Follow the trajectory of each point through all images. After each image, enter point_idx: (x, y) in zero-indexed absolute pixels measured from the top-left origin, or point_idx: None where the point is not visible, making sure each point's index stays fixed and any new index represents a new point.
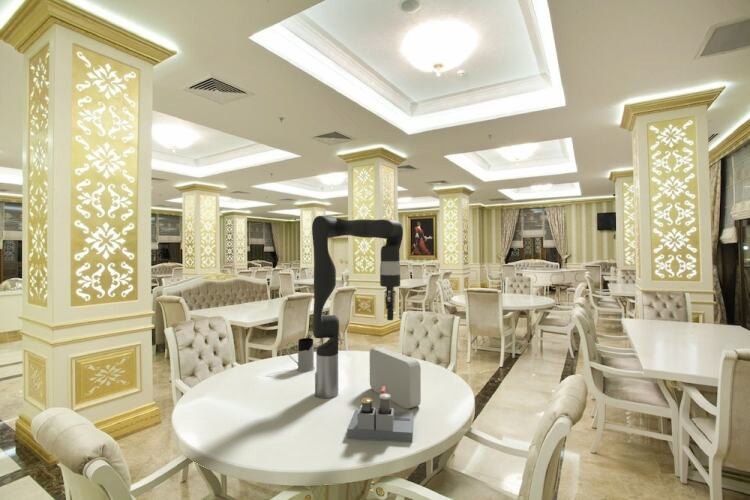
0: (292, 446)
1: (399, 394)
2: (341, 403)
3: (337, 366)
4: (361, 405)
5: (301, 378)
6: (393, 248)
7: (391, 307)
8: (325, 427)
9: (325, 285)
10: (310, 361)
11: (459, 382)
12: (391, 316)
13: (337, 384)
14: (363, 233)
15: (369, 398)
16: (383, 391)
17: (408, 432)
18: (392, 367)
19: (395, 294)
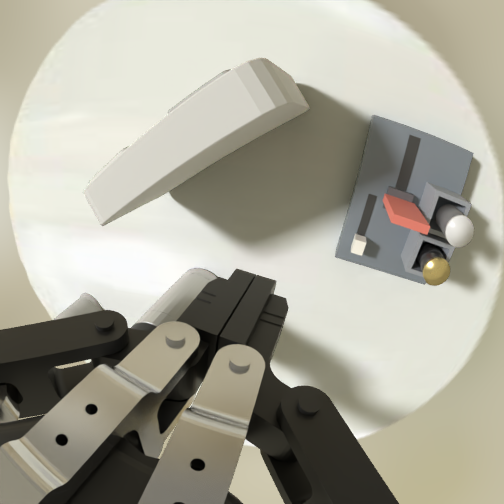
0: (414, 354)
1: (265, 130)
2: (253, 267)
3: (176, 307)
4: (353, 252)
5: (132, 321)
6: None
7: (323, 427)
8: (365, 308)
9: None
10: (85, 310)
11: None
12: (283, 319)
13: (198, 283)
14: None
15: (430, 264)
16: (429, 228)
17: (470, 161)
18: (206, 155)
19: (46, 499)
